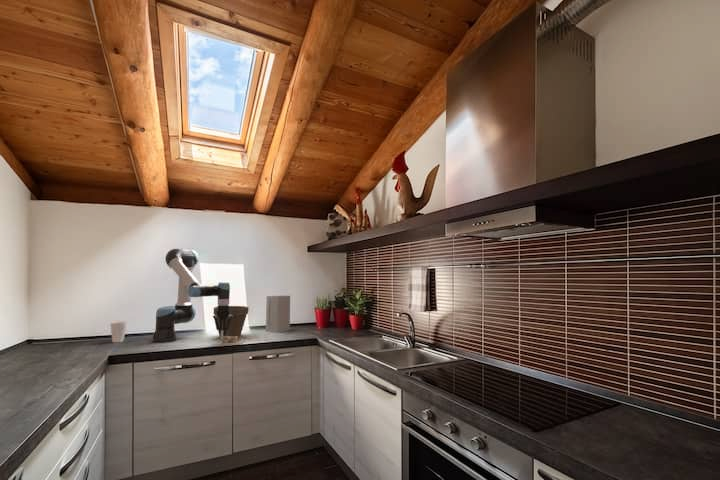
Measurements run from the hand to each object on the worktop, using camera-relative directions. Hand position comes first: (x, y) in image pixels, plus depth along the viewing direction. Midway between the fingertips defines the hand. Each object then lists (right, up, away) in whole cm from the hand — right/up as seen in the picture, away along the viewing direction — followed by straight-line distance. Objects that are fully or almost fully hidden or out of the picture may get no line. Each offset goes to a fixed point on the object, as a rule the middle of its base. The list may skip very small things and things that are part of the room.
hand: (222, 340), depth 248 cm
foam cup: (-74, -3, +5) cm, 75 cm away
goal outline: (+7, -2, +1) cm, 7 cm away
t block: (+5, -2, +1) cm, 6 cm away
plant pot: (-3, -4, +25) cm, 26 cm away
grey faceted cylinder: (+27, -6, +50) cm, 57 cm away
